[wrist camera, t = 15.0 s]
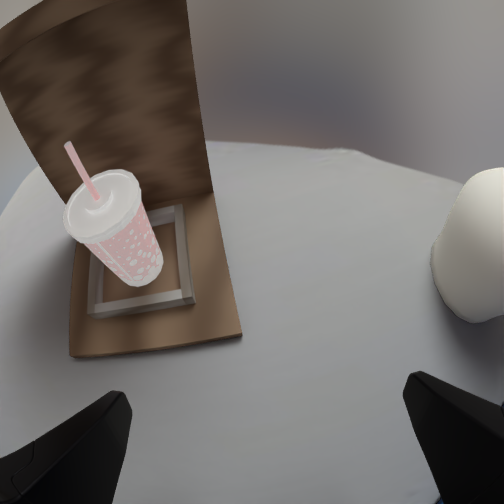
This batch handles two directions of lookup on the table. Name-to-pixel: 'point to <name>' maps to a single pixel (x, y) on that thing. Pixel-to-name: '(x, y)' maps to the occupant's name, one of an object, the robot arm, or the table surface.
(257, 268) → the table surface
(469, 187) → the vase
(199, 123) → the wooden headphone stand
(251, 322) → the table surface
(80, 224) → the beverage cup
